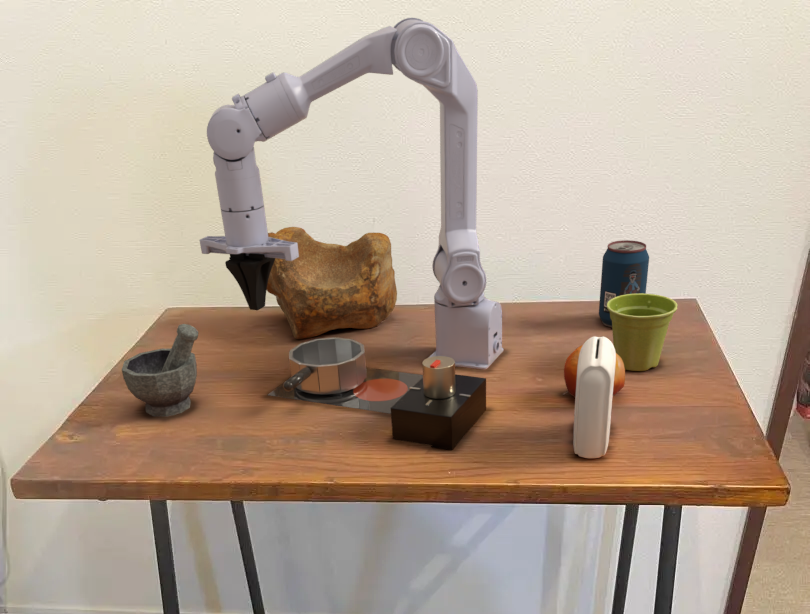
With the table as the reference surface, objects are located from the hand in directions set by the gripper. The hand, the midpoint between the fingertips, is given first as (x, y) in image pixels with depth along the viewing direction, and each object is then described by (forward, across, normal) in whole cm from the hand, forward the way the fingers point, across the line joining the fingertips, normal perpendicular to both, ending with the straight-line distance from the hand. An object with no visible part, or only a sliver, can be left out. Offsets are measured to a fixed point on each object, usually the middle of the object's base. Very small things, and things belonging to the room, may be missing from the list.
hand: (257, 307), depth 123 cm
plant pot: (+10, +50, +20) cm, 54 cm away
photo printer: (+10, +50, -5) cm, 51 cm away
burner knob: (+6, +30, -7) cm, 32 cm away
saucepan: (+10, +11, -3) cm, 15 cm away
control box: (+10, +30, -7) cm, 33 cm away
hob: (+10, +14, 0) cm, 18 cm away
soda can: (+10, +44, +36) cm, 57 cm away
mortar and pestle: (+10, -6, -14) cm, 19 cm away
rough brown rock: (+10, -2, +20) cm, 23 cm away
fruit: (+10, +46, +7) cm, 48 cm away
